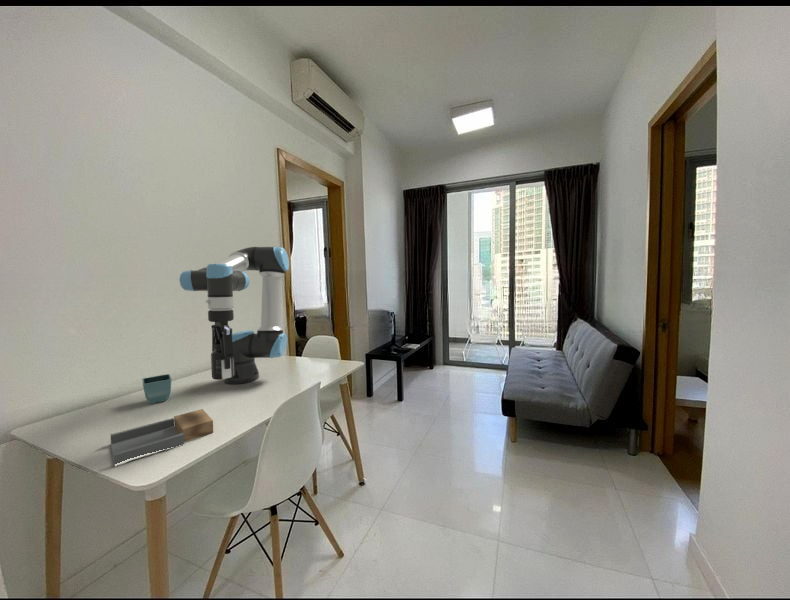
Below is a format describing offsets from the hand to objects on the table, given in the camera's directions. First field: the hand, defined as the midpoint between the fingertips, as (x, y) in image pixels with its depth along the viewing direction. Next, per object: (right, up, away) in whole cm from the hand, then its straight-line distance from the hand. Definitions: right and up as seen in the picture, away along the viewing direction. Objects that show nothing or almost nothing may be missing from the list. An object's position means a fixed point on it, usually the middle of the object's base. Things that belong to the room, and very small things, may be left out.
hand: (223, 375), depth 105 cm
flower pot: (-35, -14, +16) cm, 41 cm away
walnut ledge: (-5, -16, -8) cm, 18 cm away
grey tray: (-13, -16, -16) cm, 26 cm away
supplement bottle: (0, -1, 0) cm, 1 cm away
